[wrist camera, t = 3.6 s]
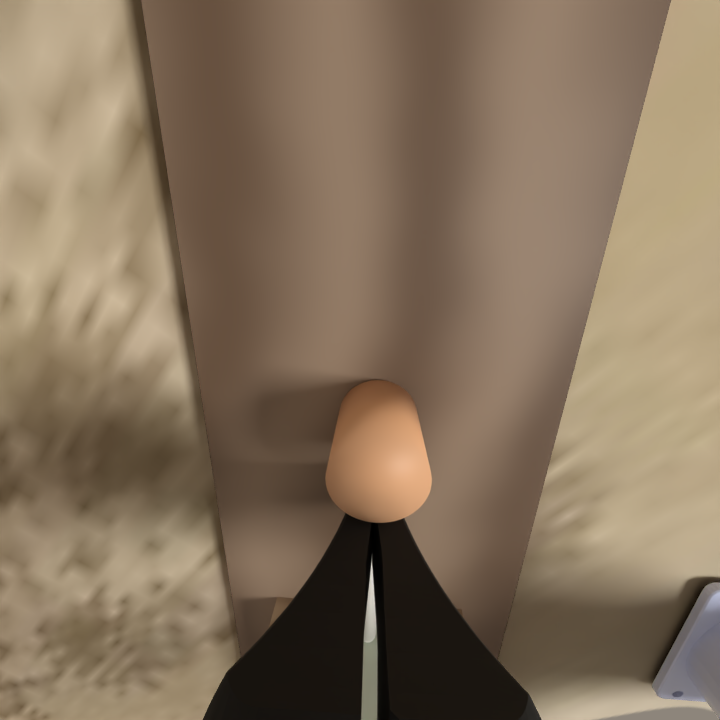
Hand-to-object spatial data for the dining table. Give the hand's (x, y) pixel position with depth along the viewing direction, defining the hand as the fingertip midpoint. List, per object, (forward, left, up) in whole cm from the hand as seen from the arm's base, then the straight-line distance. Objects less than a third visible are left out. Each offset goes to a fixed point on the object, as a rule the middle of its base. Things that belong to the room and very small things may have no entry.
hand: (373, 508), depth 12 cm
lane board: (0, 0, -2) cm, 2 cm away
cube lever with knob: (0, +5, -1) cm, 5 cm away
